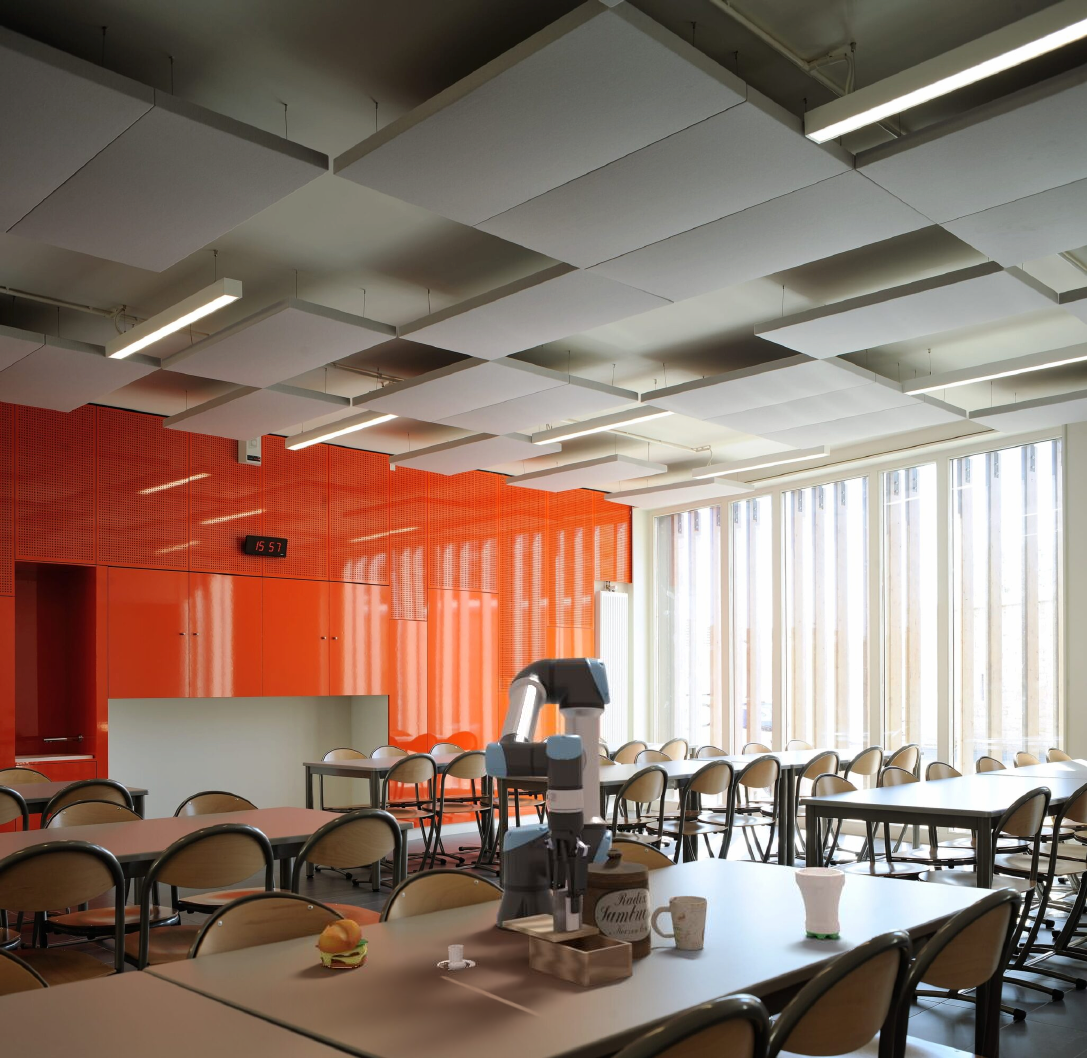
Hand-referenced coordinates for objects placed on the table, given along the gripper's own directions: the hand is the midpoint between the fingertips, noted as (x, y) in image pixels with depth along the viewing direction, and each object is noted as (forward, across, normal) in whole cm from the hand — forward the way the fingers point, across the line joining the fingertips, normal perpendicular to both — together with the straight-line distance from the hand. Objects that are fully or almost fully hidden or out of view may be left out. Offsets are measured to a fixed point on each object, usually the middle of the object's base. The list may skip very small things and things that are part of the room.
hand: (567, 928), depth 208 cm
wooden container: (+8, -3, +16) cm, 18 cm away
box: (+8, +4, 0) cm, 9 cm away
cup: (+8, +15, +63) cm, 65 cm away
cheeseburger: (+8, -33, -34) cm, 48 cm away
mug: (+8, +1, +31) cm, 32 cm away
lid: (+1, -6, 0) cm, 6 cm away
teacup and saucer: (+9, -18, -18) cm, 27 cm away
